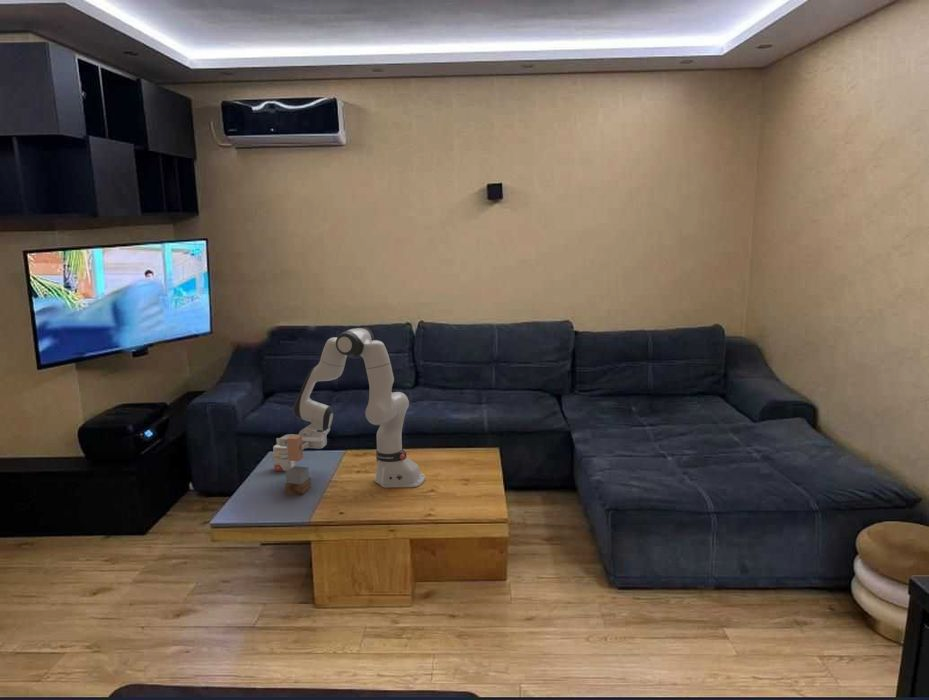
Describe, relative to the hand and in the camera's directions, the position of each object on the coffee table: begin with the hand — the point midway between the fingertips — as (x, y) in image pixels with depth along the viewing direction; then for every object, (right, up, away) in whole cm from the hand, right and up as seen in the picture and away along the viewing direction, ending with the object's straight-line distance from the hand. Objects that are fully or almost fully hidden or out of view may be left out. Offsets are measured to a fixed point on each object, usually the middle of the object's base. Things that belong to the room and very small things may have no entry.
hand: (294, 447), depth 286 cm
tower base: (+1, -20, +4) cm, 20 cm away
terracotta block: (0, -5, +2) cm, 6 cm away
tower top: (+1, -15, +3) cm, 15 cm away
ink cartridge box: (-12, -15, +30) cm, 36 cm away
